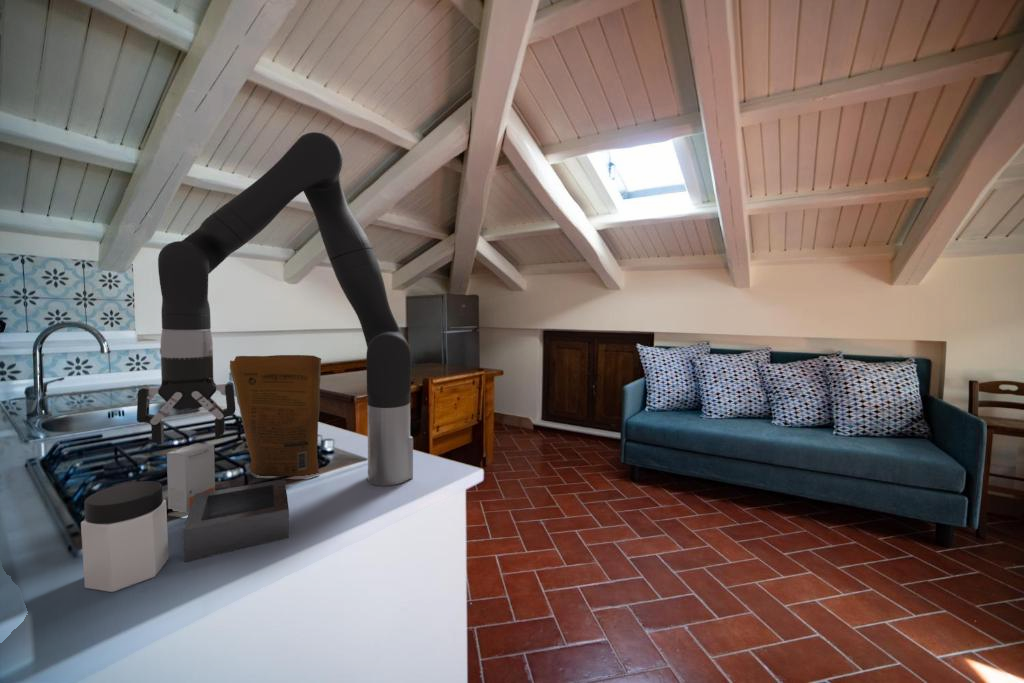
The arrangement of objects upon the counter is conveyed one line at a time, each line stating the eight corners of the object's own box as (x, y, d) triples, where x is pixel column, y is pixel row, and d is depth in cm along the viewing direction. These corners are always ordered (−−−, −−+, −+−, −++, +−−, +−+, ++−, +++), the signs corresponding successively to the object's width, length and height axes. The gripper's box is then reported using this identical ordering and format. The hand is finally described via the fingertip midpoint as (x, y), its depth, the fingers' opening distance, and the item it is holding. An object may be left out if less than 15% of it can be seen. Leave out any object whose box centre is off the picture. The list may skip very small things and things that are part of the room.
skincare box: (187, 519, 75) (184, 454, 74) (167, 517, 76) (164, 452, 75) (217, 504, 81) (215, 444, 80) (198, 502, 82) (196, 442, 81)
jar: (162, 548, 66) (159, 475, 65) (175, 570, 61) (171, 490, 60) (81, 575, 59) (76, 493, 59) (88, 602, 54) (82, 513, 53)
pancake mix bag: (315, 484, 91) (313, 356, 89) (230, 481, 92) (226, 354, 90) (330, 472, 98) (328, 353, 96) (251, 469, 99) (247, 351, 97)
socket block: (285, 503, 82) (284, 478, 82) (289, 537, 70) (288, 508, 70) (196, 520, 75) (195, 493, 75) (184, 562, 63) (182, 530, 63)
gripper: (235, 350, 83) (236, 430, 85) (141, 352, 76) (144, 439, 77) (233, 355, 77) (234, 441, 78) (130, 357, 70) (133, 452, 71)
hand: (189, 440), depth 78 cm, fingers open, 8 cm apart
